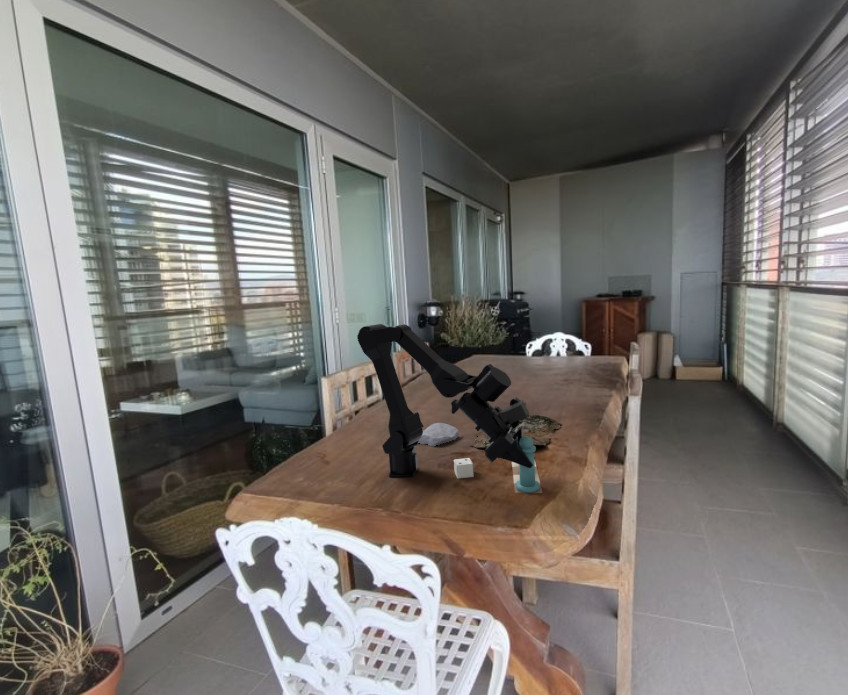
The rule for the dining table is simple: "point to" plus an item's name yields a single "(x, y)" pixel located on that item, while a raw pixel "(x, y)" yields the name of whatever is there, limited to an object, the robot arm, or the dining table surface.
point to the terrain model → (530, 430)
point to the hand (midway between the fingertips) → (533, 463)
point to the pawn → (527, 474)
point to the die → (463, 468)
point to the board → (517, 476)
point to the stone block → (438, 434)
